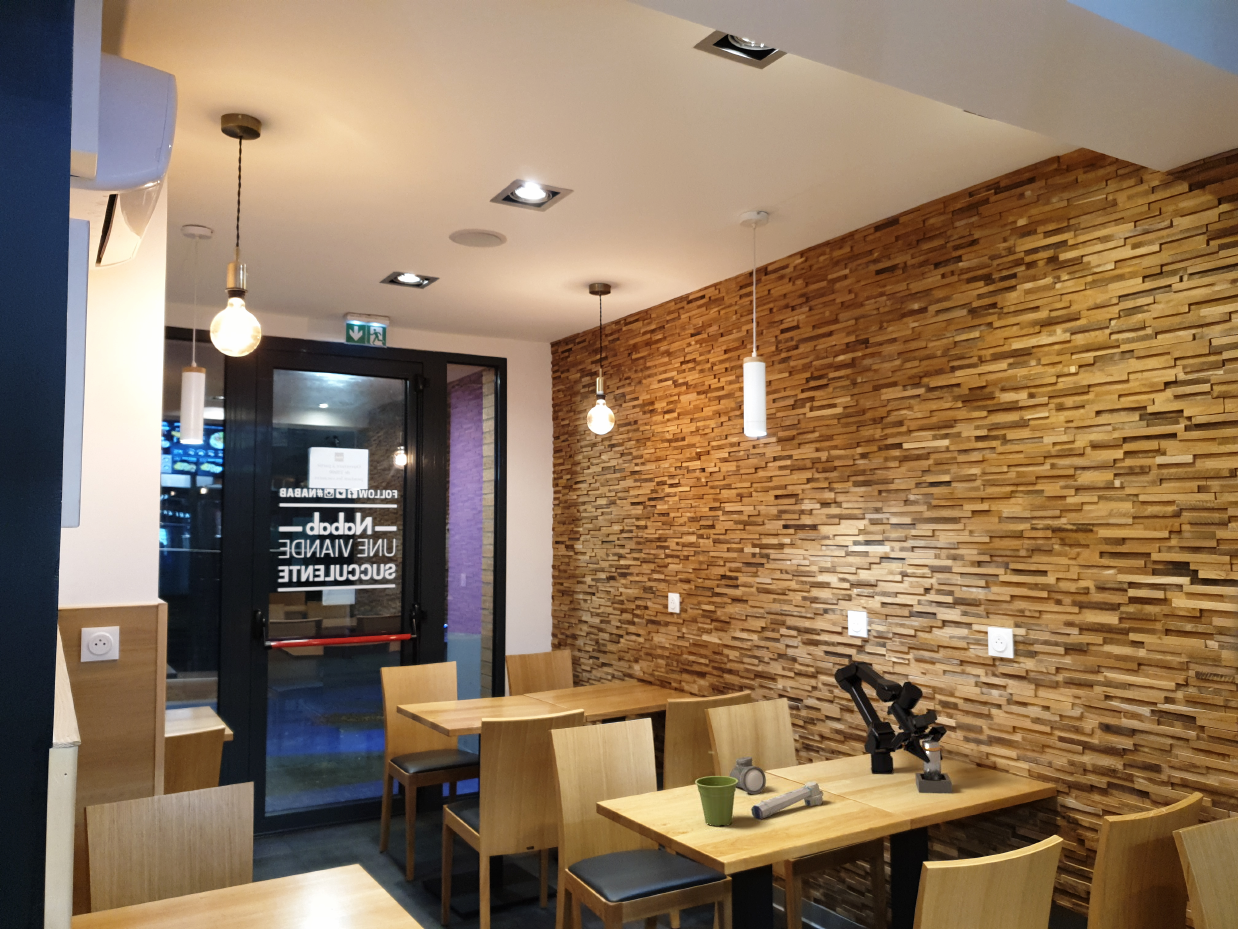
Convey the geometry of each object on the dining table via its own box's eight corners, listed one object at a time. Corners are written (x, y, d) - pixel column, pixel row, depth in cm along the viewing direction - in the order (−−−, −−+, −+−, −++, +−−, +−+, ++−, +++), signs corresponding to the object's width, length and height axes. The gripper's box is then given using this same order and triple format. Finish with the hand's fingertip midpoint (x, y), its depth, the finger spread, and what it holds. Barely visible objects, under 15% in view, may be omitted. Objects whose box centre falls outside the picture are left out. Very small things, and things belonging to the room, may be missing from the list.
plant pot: (742, 817, 257) (740, 775, 258) (737, 830, 245) (735, 787, 246) (700, 815, 260) (698, 774, 261) (693, 828, 248) (692, 786, 249)
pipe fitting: (769, 791, 280) (763, 756, 282) (746, 797, 277) (740, 762, 279) (750, 786, 291) (744, 753, 293) (728, 792, 288) (722, 758, 290)
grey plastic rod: (748, 803, 257) (811, 774, 272) (752, 827, 257) (814, 797, 272) (761, 807, 253) (824, 778, 267) (765, 831, 253) (828, 801, 267)
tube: (925, 784, 276) (922, 743, 277) (923, 780, 281) (920, 740, 282) (943, 785, 275) (940, 744, 276) (941, 780, 280) (938, 740, 281)
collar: (919, 792, 274) (918, 780, 275) (915, 784, 283) (915, 772, 284) (952, 793, 272) (951, 781, 273) (947, 785, 281) (947, 773, 282)
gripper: (896, 705, 279) (925, 749, 268) (940, 699, 288) (971, 741, 277) (879, 727, 285) (907, 771, 275) (923, 720, 294) (952, 762, 283)
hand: (935, 761), depth 277 cm, fingers closed on tube, 5 cm apart
